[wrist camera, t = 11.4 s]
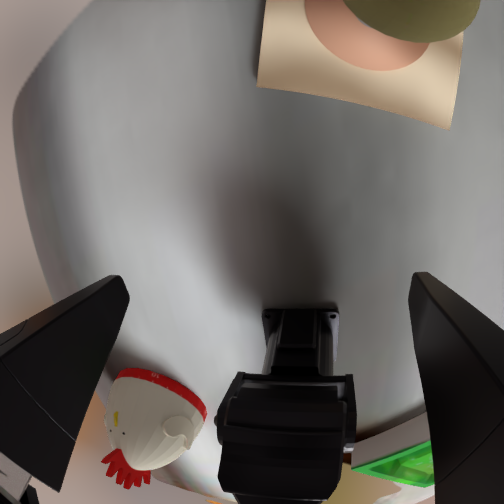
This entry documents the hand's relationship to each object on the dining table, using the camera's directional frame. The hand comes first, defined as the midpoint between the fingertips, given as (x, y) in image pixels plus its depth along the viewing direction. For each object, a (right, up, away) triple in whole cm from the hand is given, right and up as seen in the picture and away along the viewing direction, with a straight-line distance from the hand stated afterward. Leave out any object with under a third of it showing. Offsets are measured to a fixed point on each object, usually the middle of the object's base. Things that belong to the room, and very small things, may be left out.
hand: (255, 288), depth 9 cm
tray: (+32, -27, +26) cm, 49 cm away
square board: (+7, +15, +5) cm, 17 cm away
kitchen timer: (-13, -20, +30) cm, 38 cm away
